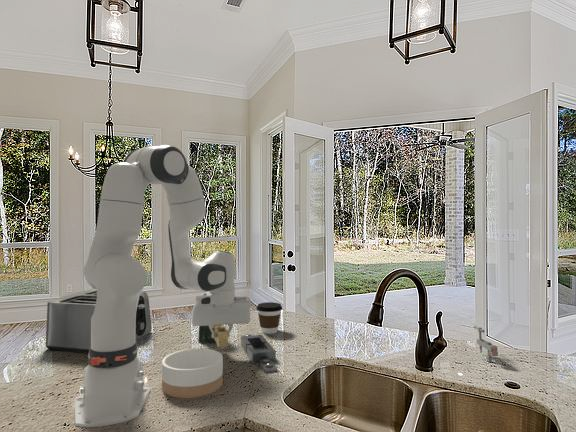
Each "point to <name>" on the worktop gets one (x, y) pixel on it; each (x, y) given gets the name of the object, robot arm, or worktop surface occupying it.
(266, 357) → the chain end near
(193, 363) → the bowl
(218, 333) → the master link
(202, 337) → the coffee jar
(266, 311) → the coffee cup
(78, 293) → the toaster
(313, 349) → the worktop surface
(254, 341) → the chain end far
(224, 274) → the robot arm
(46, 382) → the worktop surface
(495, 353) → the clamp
